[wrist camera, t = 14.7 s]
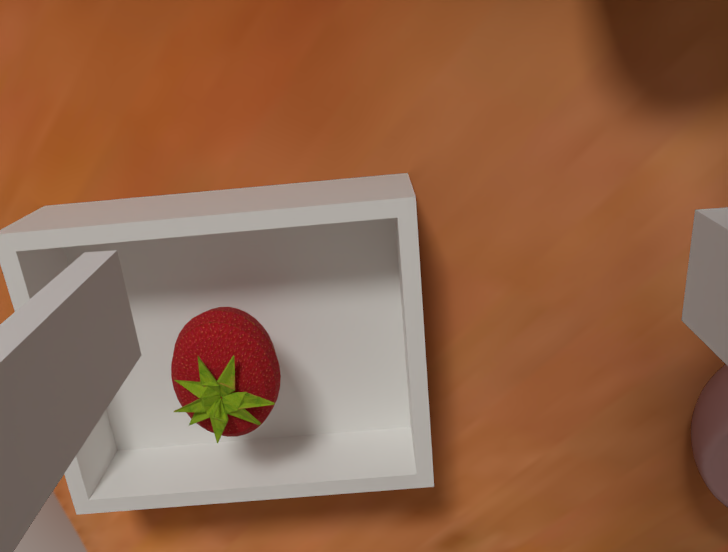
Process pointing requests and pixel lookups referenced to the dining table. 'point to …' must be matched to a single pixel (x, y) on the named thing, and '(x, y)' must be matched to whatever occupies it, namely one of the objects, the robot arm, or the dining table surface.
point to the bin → (279, 318)
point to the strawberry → (225, 372)
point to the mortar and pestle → (712, 434)
